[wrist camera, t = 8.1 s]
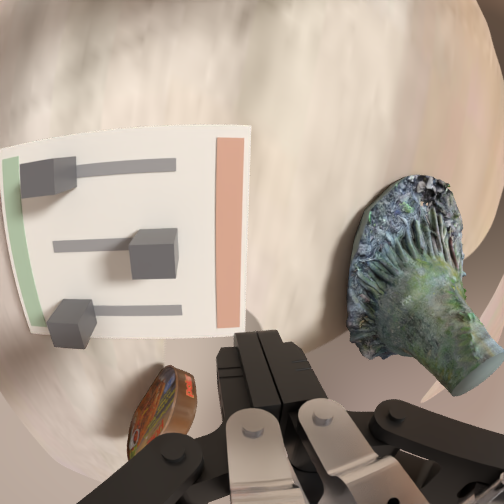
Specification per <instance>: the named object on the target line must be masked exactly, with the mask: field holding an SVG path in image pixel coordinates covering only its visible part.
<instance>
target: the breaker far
mask: <svg viewBox="0 0 504 504" xmlns="http://www.w3.org/2000/svg"><path fill="white" fill-rule="evenodd" d="M46 323H47V327H48V330H49V333H50V336H51V339H52V341H53V344H54V347H61V348H74V349H85V348H86V346H87V344H88V342H89V340H90V337H91V335H92V333H93V331H94V329H95V327H96V325H97V320H96V315H95V311H94V307H93V302H92V299H63V300H62V301H61V303H60V304H59V305H58V307H57V308H56V309H55V311H54V312H53V313H52V315H51V316H50V318H49V319H48V320H47V322H46Z"/></svg>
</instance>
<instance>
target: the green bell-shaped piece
mask: <svg viewBox="0 0 504 504" xmlns="http://www.w3.org/2000/svg"><path fill="white" fill-rule="evenodd" d="M447 187H450V184H448V183H445V182H444V181H441V180H437V179H435V178H434V177H431V176H424V175H412V176H407V177H404V178H402V179H400V180H398V181H396V182H395V183H393V184H391V185H390V186H389V187H388V188H387V189H386V190H385V191H384V192H383V193H382V194H381V195H380V196H379V197H378V198H377V199H376V200H375V201H374V202H373V203H372V204H371V205H370V206H369V207H367V208H366V209H365V211H364V213H363V216H362V219H361V222H360V224H359V227H358V230H357V232H356V235H355V238H354V244H353V250H352V255H351V262H350V269H349V278H348V289H347V297H346V298H347V312H348V318H347V321H346V325H347V328H348V330H349V331H350V342H352V343H356V346H357V347H358V348H359V350H360V352H361V354H362V355H363V356H364V357H366V358H368V359H369V360H371V359H373V358H375V357H377V356H380V357H381V358H382V359H386V358H388V357H389V356H391V355H396V354H399V355H401V356H408V357H414V358H415V359H417V360H418V361H419V362H420V364H422V365H423V366H424V367H425V368H426V369H427V370H428V371H429V372H430V373H432V374H433V375H434V376H435V377H436V379H437V380H438V381H439V382H440V383H441V384H442V385H443V386H444V387H445V388H446V389H447V390H448V391H449V392H450V393H451V395H452V396H460V395H462V394H464V393H466V392H468V391H470V390H471V389H473V388H474V387H476V386H478V385H479V384H480V383H482V382H483V381H484V380H486V379H487V378H488V377H489V376H490V375H491V374H492V373H493V372H494V371H495V370H496V369H497V368H498V367H499V366H500V365H501V364H502V362H503V361H504V349H503V348H502V347H501V346H499V345H498V344H497V343H496V342H495V341H494V340H493V339H492V338H491V336H490V335H489V333H488V332H487V331H486V329H485V327H484V325H483V324H482V323H481V322H480V320H479V319H478V317H476V315H475V314H474V313H473V311H472V310H471V308H470V307H469V306H468V305H467V303H466V301H465V299H466V296H465V292H466V290H465V289H464V288H463V284H462V277H463V276H466V273H465V272H464V271H463V270H462V266H463V259H464V254H463V252H462V245H463V244H462V243H461V238H462V232H461V231H462V229H463V224H462V218H461V214H460V212H459V210H458V207H457V205H456V202H455V199H454V197H453V193H452V192H451V191H450V190H449V189H448V188H447ZM421 201H423V202H424V203H423V206H420V202H421ZM427 202H428V206H426V203H427Z"/></svg>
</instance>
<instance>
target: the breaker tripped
mask: <svg viewBox="0 0 504 504" xmlns="http://www.w3.org/2000/svg"><path fill="white" fill-rule="evenodd" d="M129 255H130V264H131V273H132V280H138V279H176V275H177V268H178V261H179V249H178V228H161V229H139V231H138V232H137V234H136V235H135V236H134V238H133V239H132V241H131V242H130V244H129Z"/></svg>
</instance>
